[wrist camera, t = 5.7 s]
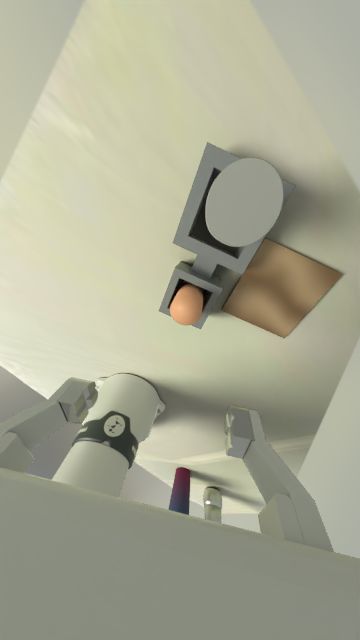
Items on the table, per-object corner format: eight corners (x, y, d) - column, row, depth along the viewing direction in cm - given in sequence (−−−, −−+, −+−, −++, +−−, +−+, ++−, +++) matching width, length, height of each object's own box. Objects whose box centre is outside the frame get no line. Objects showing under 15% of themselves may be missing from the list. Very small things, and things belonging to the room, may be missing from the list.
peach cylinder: (197, 305, 29) (193, 329, 22) (176, 296, 29) (165, 317, 22) (208, 285, 27) (207, 304, 20) (185, 274, 27) (176, 290, 20)
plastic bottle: (207, 483, 62) (206, 583, 44) (225, 489, 62) (230, 591, 44) (200, 488, 65) (197, 584, 47) (217, 494, 65) (219, 592, 48)
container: (247, 200, 22) (302, 158, 9) (237, 240, 24) (268, 254, 11) (211, 196, 22) (212, 149, 9) (204, 235, 25) (197, 243, 11)
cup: (189, 477, 62) (183, 544, 49) (171, 471, 62) (161, 536, 49) (195, 470, 58) (191, 539, 45) (177, 464, 58) (167, 531, 45)
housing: (209, 318, 31) (209, 333, 26) (158, 295, 30) (149, 307, 26) (281, 192, 21) (300, 183, 17) (207, 156, 20) (207, 137, 16)
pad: (283, 336, 30) (284, 338, 29) (221, 309, 29) (221, 310, 29) (339, 273, 24) (342, 274, 24) (263, 237, 23) (265, 237, 23)
